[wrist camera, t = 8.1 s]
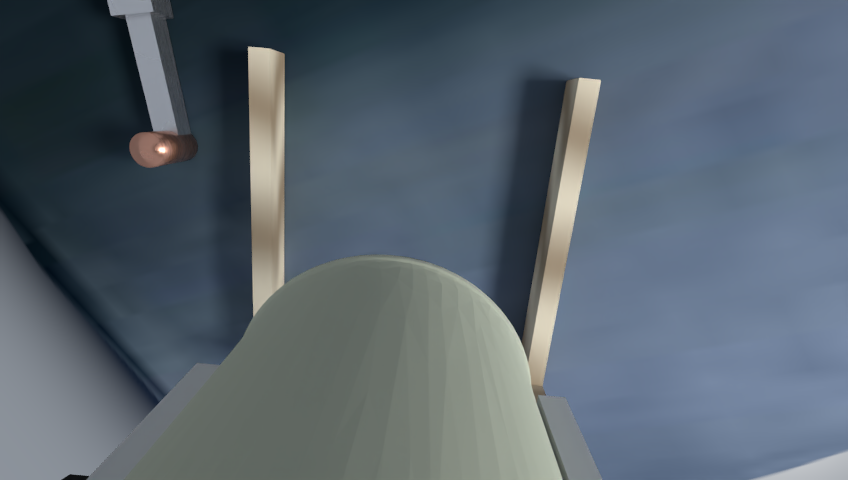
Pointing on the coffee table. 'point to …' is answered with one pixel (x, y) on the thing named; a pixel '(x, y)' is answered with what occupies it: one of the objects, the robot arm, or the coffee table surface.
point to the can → (365, 386)
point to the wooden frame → (556, 220)
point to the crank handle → (157, 84)
